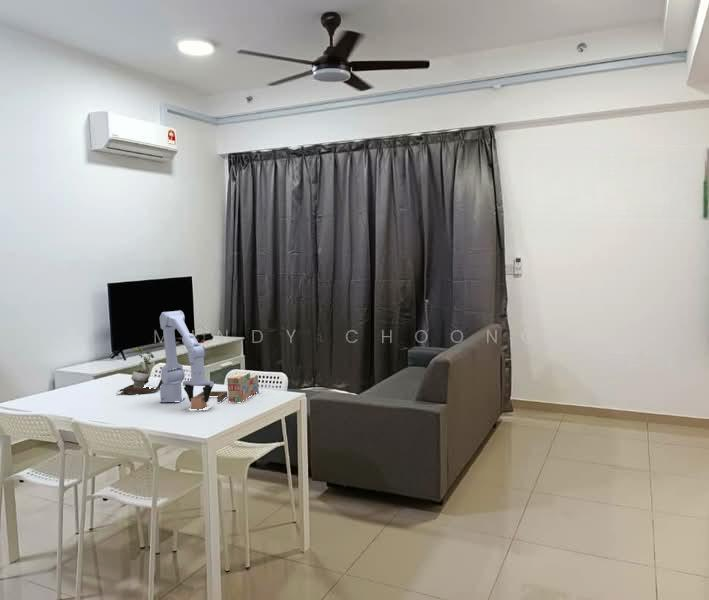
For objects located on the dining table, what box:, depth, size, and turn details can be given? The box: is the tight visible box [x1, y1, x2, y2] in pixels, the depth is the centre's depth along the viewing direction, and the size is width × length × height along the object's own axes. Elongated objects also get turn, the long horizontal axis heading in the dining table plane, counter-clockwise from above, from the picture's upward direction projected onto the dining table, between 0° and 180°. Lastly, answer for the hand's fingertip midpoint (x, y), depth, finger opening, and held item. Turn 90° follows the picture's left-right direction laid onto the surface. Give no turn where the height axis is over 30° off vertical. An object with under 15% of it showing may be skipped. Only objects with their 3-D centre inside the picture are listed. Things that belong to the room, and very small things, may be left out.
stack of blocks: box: [227, 371, 260, 403], centre depth 273 cm, size 21×6×12 cm, turn 166°
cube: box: [190, 395, 208, 410], centre depth 254 cm, size 5×5×5 cm
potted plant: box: [115, 347, 163, 395], centre depth 296 cm, size 20×19×25 cm
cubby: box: [196, 390, 228, 402], centre depth 270 cm, size 12×11×3 cm
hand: (199, 401), depth 254 cm, fingers open, 7 cm apart
